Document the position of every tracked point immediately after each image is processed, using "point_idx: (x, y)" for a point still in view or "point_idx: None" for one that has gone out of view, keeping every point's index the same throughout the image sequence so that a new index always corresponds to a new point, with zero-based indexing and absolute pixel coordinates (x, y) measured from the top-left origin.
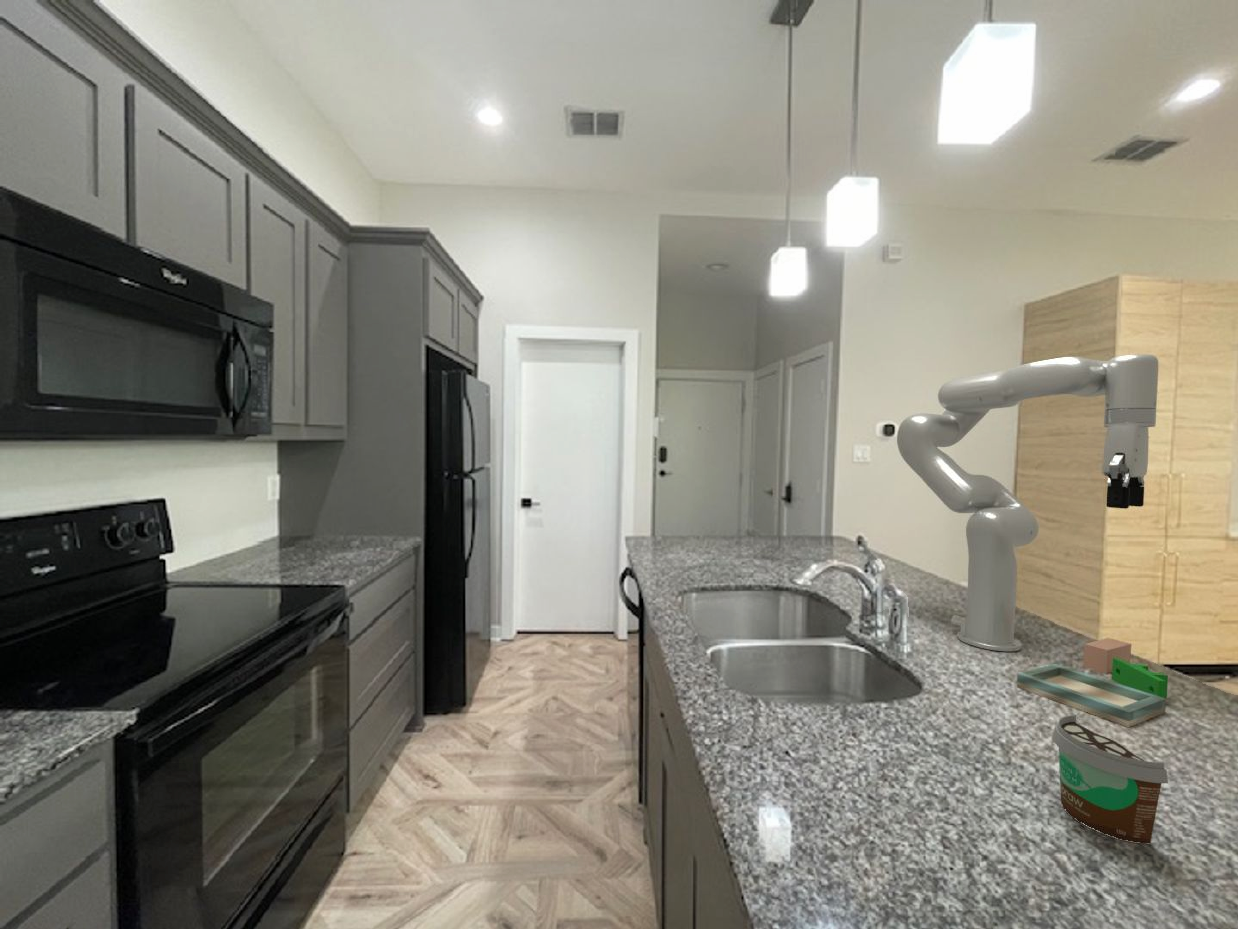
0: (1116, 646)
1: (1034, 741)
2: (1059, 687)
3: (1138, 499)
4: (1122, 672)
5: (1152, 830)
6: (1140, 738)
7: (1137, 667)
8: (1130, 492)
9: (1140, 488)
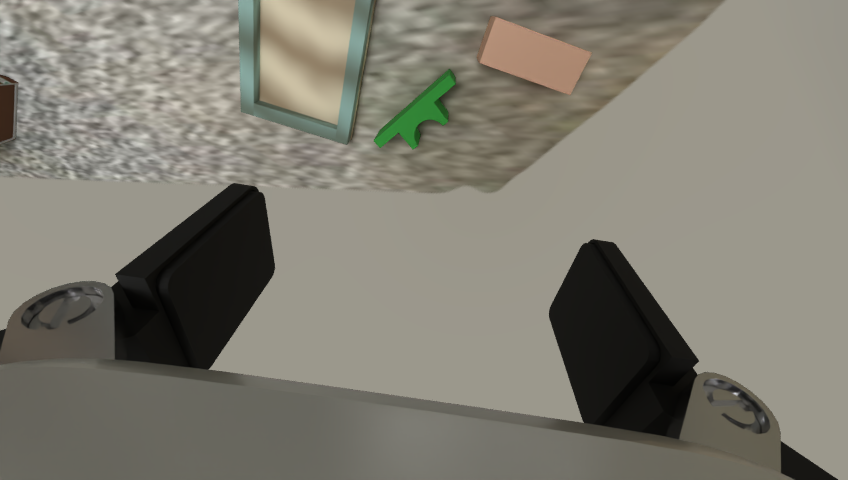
0: (524, 74)
1: (76, 17)
2: (242, 15)
3: (563, 333)
4: (430, 88)
5: (1, 143)
6: (231, 120)
7: (419, 112)
8: (600, 342)
9: (588, 414)
